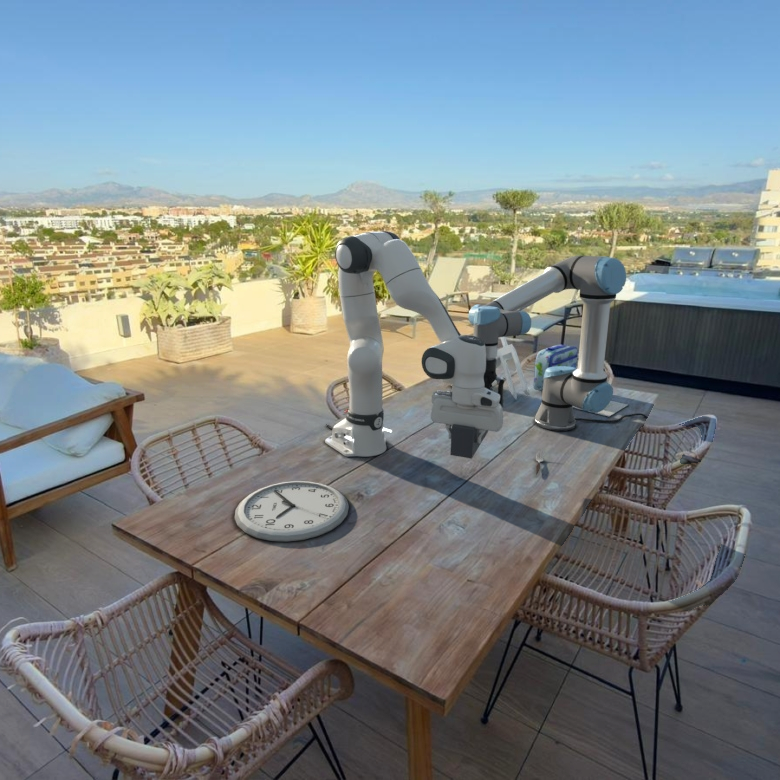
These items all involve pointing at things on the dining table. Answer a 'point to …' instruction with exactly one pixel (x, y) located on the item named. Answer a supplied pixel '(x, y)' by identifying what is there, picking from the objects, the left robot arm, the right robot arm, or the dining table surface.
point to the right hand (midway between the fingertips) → (479, 427)
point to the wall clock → (291, 511)
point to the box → (464, 440)
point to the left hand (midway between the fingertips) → (464, 440)
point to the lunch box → (553, 361)
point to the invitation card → (610, 408)
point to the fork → (539, 461)
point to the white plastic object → (506, 367)
